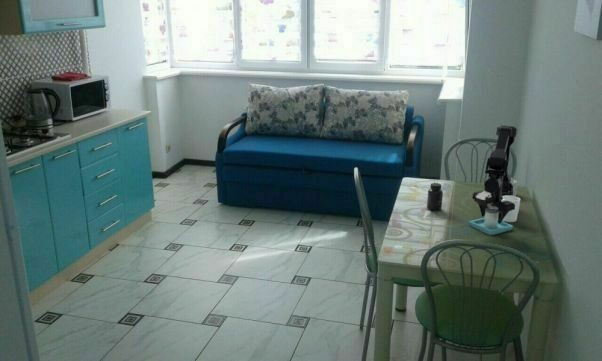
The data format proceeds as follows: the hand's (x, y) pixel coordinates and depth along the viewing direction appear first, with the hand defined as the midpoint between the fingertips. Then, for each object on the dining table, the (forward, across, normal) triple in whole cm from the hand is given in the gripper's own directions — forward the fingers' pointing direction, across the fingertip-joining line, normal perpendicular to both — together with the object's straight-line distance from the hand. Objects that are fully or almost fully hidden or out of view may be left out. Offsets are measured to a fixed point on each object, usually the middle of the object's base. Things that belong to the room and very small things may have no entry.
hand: (491, 219), depth 236 cm
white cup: (+4, -3, +14) cm, 15 cm away
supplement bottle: (+4, -29, -6) cm, 30 cm away
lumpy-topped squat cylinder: (+4, -29, +38) cm, 48 cm away
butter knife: (+4, -21, -19) cm, 29 cm away
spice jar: (+3, 0, 0) cm, 3 cm away
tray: (+4, 0, 0) cm, 4 cm away
